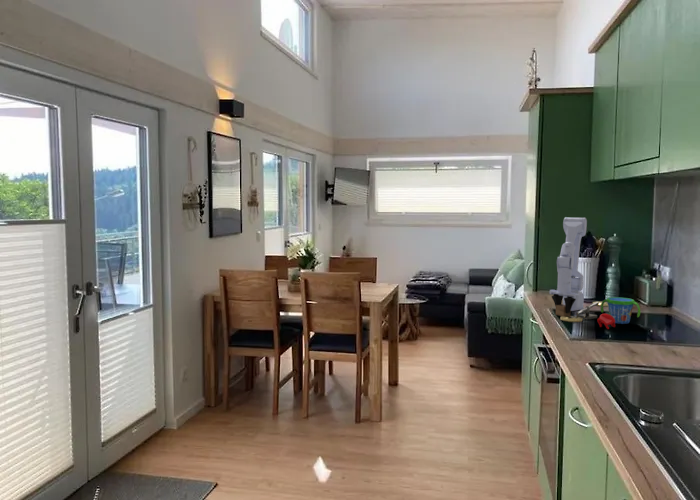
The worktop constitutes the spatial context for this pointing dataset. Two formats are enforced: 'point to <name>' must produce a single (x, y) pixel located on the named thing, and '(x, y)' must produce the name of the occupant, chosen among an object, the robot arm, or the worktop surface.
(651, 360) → the worktop surface
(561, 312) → the block
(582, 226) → the robot arm
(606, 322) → the red toy piece
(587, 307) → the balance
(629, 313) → the snack cup
